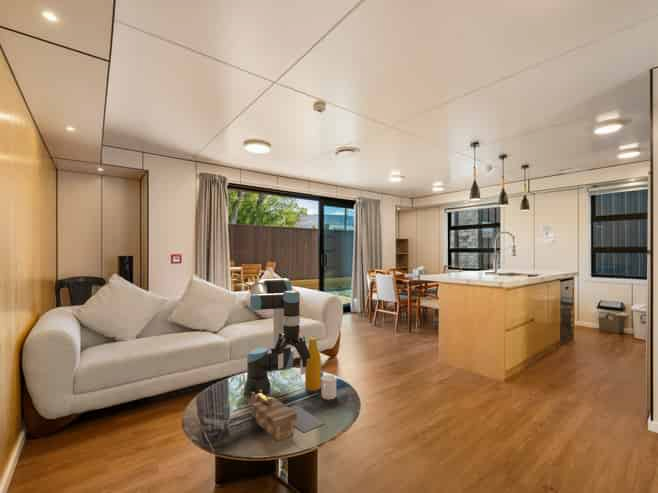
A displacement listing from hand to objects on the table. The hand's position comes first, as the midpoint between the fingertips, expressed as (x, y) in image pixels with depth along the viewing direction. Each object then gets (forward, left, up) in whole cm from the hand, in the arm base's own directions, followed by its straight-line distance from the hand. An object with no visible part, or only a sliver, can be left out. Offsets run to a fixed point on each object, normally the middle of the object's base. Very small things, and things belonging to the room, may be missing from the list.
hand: (291, 370), depth 147 cm
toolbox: (-8, -7, -25) cm, 27 cm away
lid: (-4, -7, -19) cm, 21 cm away
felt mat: (-4, +7, -25) cm, 27 cm away
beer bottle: (-28, +33, -26) cm, 51 cm away
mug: (-12, +31, -26) cm, 42 cm away
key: (-13, -7, -16) cm, 22 cm away
